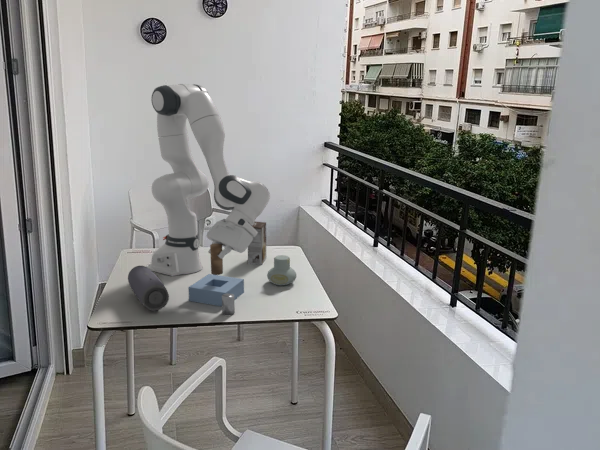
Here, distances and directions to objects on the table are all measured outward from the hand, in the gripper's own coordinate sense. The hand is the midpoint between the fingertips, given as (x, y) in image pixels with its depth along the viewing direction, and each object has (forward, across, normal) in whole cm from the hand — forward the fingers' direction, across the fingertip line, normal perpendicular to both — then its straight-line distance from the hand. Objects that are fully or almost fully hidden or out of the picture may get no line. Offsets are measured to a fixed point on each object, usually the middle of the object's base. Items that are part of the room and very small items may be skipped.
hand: (214, 255), depth 175 cm
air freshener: (-8, +3, +30) cm, 31 cm away
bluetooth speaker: (+25, -11, -3) cm, 27 cm away
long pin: (+4, 0, +5) cm, 6 cm away
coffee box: (-14, -23, +35) cm, 44 cm away
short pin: (+14, +14, +8) cm, 21 cm away
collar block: (+10, 0, +11) cm, 15 cm away
